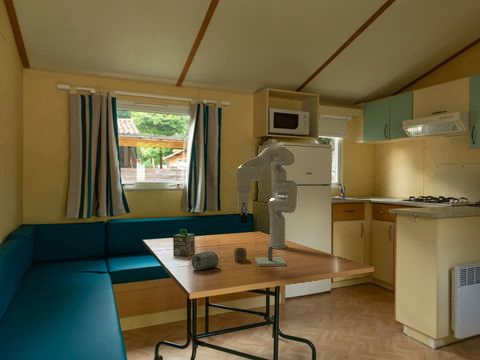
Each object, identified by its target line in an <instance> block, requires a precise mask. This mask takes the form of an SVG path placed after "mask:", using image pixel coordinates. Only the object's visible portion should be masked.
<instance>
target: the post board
mask: <svg viewBox="0 0 480 360" xmlns="http://www.w3.org/2000/svg"><path fill="white" fill-rule="evenodd" d="M254 260H255V263H256V265H257V266H258V267H286V266H287V263H286V261H285V260H284V259H283V257H281V256H273V248H272V246H268V245H267V256H266V257H265V256H264V257H263V256H262V257H261V256H259V257H256V256H255V258H254Z"/></svg>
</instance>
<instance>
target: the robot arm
mask: <svg viewBox="0 0 480 360" xmlns="http://www.w3.org/2000/svg"><path fill="white" fill-rule="evenodd" d="M294 163H295V155H294V153H293V152H292V151H291V150H289V149H288V148H286V146H282V145H277V146H275V145H273V146H267V147H266V148H264V149H263V150H262V152H260V153H259V154H258V155H257V156H255V157H253V158H251V159H248V160H246V161H245V162H243V163H242V164H241V165H240V166H238V167H236V168H237V169H236V175H235V176H236V193H238V194H237V195H238V196H237V197H238V198H237V211H238V212H240V213H239V221H240V224H247V223H248V216H247V215H248V213H247V212H248V209H249V194H250V193H251V192H252V182H257V181H259V180H261V178H262V176H263V172H262V170H265V169H267V168H268V167H269V166H270V167H271V170H272V174H273V175H272V186H271V187H272V189H271V190H272V191H271V192H272V193H273V195H276V196H277V197H271V198H270V199H269V201H268V212H269V244H267V247H268V246H272V250H273V249H275V250H278V249H279V250H282V249H287V248H288V244H286V218H285V216H284V213H285V214H287V213H288V214H292V213H294V212H295V211H296V210H297V209H296V208H297V199H298V198H297V197H298V185H297V183H296V181H294V180H291V179H290V180H288V178H287V177H288V176H287V174H288V173H287V171H286V169H285V167H284V166H287V167H288V166H292V165H293V164H294ZM280 196H283V197H280ZM284 196H285V197H284ZM286 196H287V197H286Z"/></svg>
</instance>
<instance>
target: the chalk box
mask: <svg viewBox="0 0 480 360" xmlns="http://www.w3.org/2000/svg"><path fill="white" fill-rule="evenodd" d="M195 236H196V234H195V233H188V229H187V228H179V233H177V234H174V235H173V236H172V238H173V239H172V240H173V242H172V244H173V245H172V246H173V249H172V250H173V256H177V257H184V258H185V257H186V258H187V257H189V256H193V255H194V254H196V238H195Z"/></svg>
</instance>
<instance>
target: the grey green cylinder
mask: <svg viewBox="0 0 480 360" xmlns="http://www.w3.org/2000/svg"><path fill="white" fill-rule="evenodd" d="M190 260H191V265H192V268H193V269H194V270H195V271H197V272H198V271H202V270H208V269H213V268H216V267H218V266H219V257H218V254H217V253H216V252H215V251H211V250H210V251H202V252H198V253H195V254H192V255H191V259H190Z"/></svg>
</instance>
